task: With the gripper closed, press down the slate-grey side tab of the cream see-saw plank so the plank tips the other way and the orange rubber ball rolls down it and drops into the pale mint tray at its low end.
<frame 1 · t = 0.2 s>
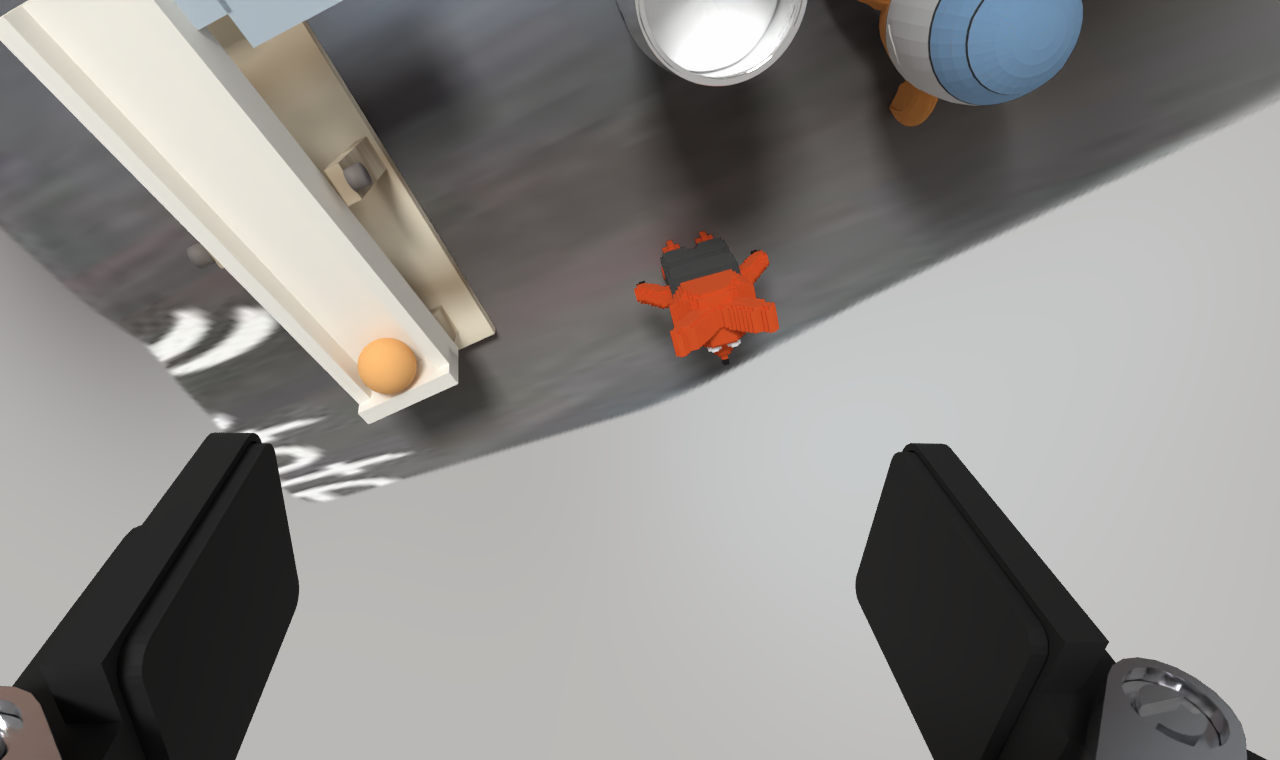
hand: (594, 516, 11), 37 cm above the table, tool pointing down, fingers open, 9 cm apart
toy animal: (692, 268, 49), on the table
stand: (317, 180, 44), on the table
lever: (351, 182, 37), point 7 cm above the table, hinge at 12.3°, touching ball
ball: (387, 365, 42), point 7 cm above the table, tilted 9°, touching lever
toy rocket: (894, 36, 43), on the table
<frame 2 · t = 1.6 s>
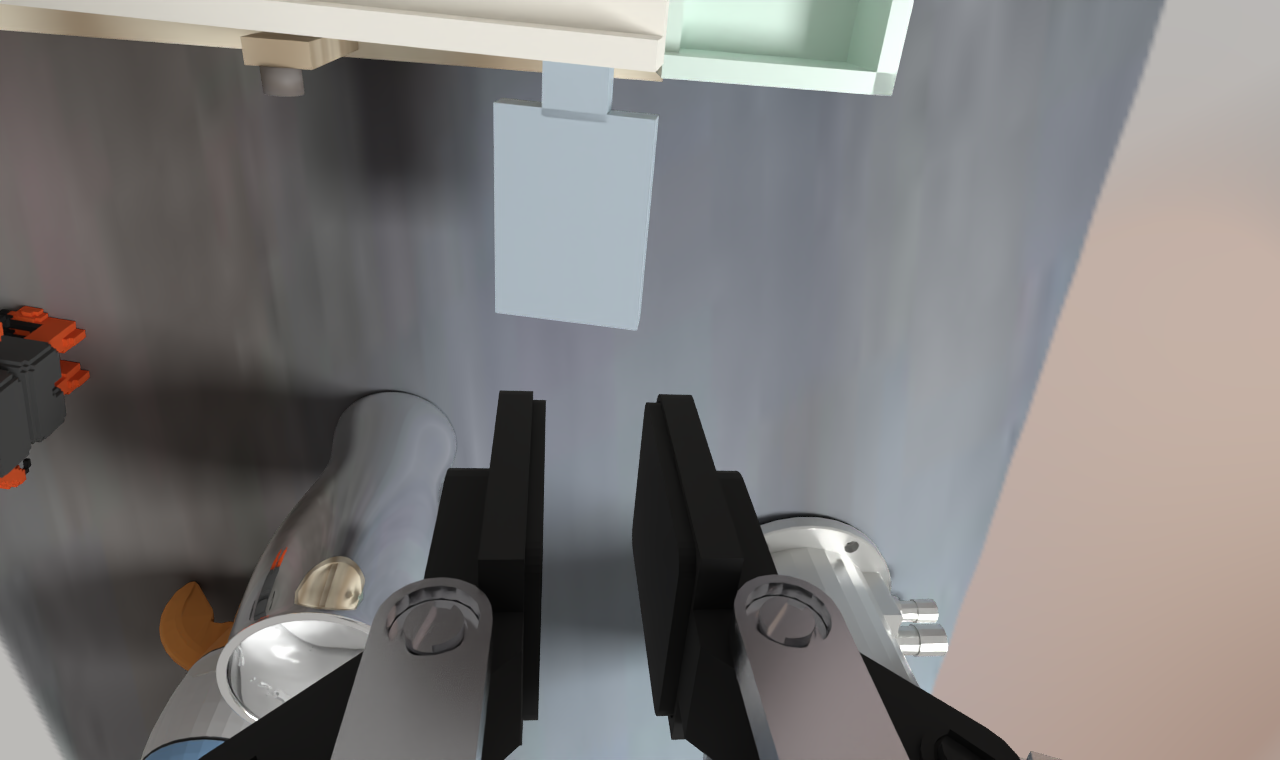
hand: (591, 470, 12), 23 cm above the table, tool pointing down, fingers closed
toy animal: (32, 343, 34), on the table
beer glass: (397, 438, 39), on the table
lever: (275, 69, 23), point 7 cm above the table, hinge at 12.3°, touching ball
toy rocket: (269, 594, 43), on the table
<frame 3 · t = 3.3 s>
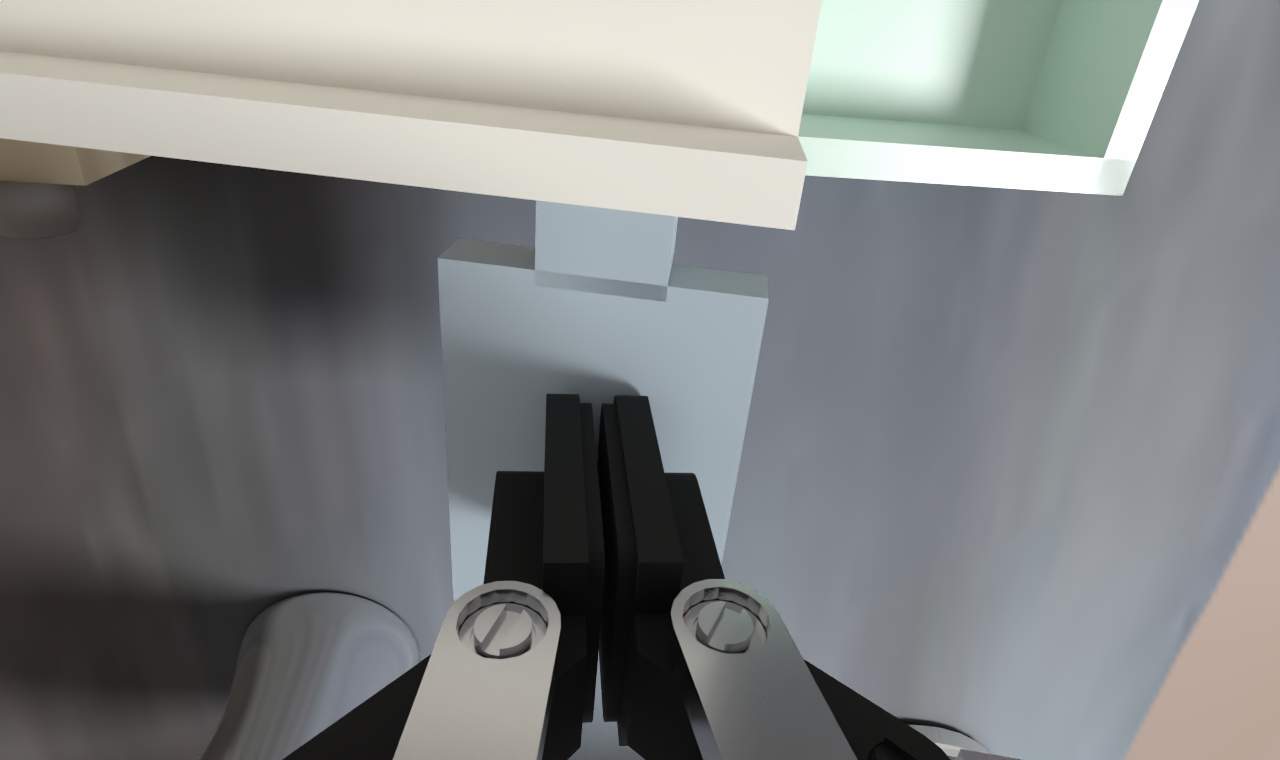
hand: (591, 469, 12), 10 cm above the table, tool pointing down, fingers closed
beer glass: (335, 647, 27), on the table
lever: (9, 186, 12), point 7 cm above the table, hinge at 12.3°, touching ball, gripper
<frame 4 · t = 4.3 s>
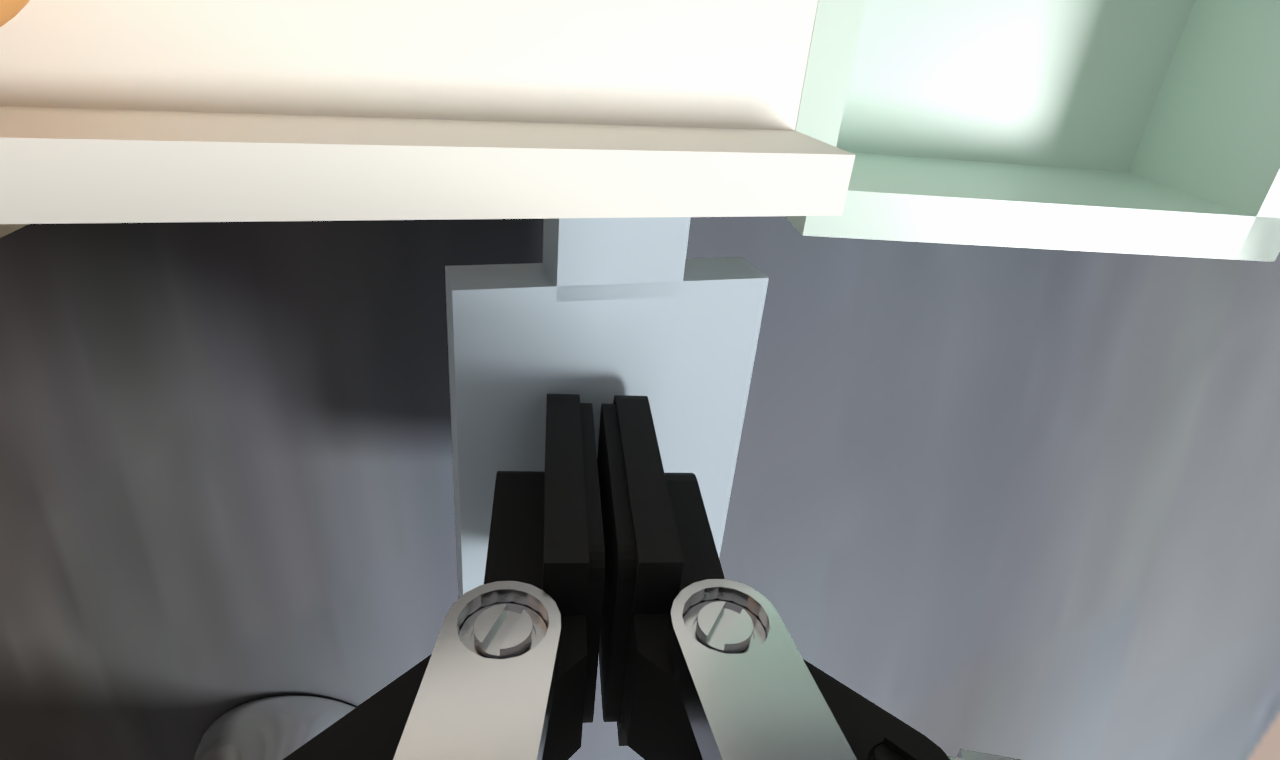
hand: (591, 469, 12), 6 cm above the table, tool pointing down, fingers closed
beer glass: (305, 751, 24), on the table
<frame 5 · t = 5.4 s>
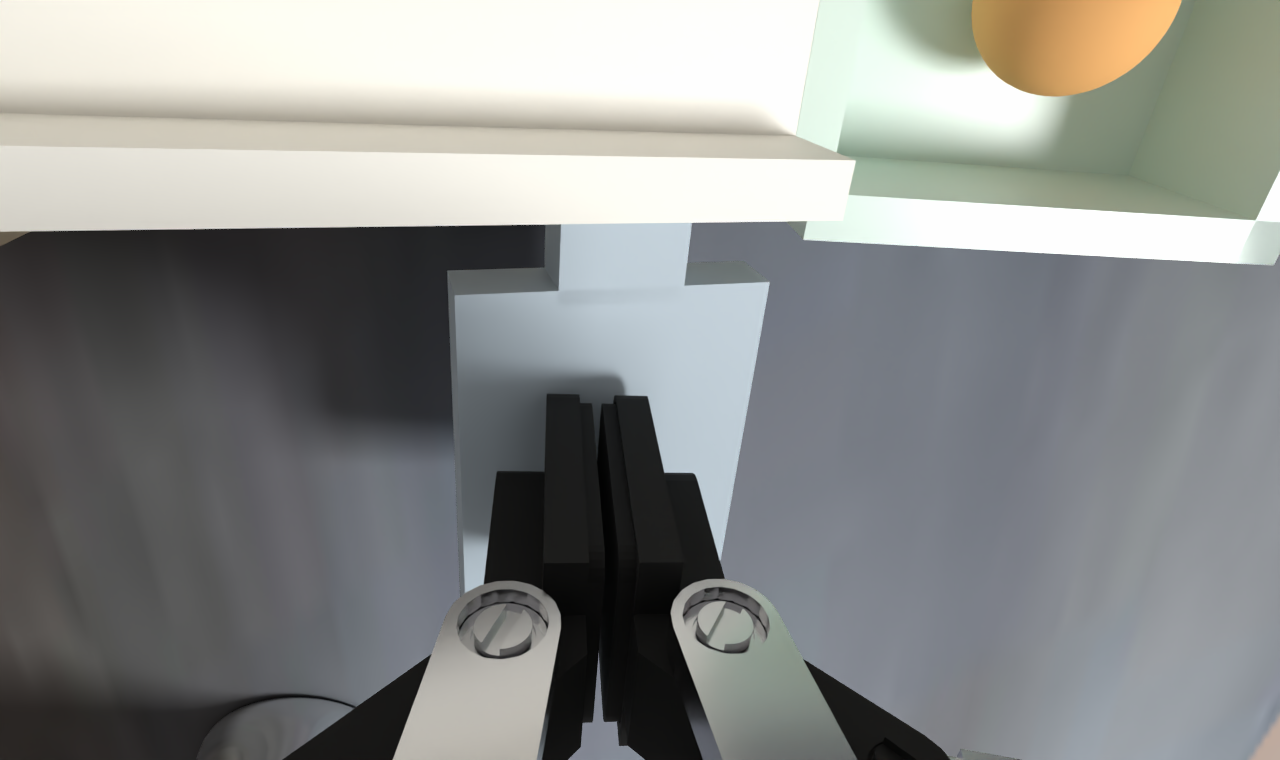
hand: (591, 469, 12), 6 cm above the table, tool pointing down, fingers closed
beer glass: (307, 753, 24), on the table
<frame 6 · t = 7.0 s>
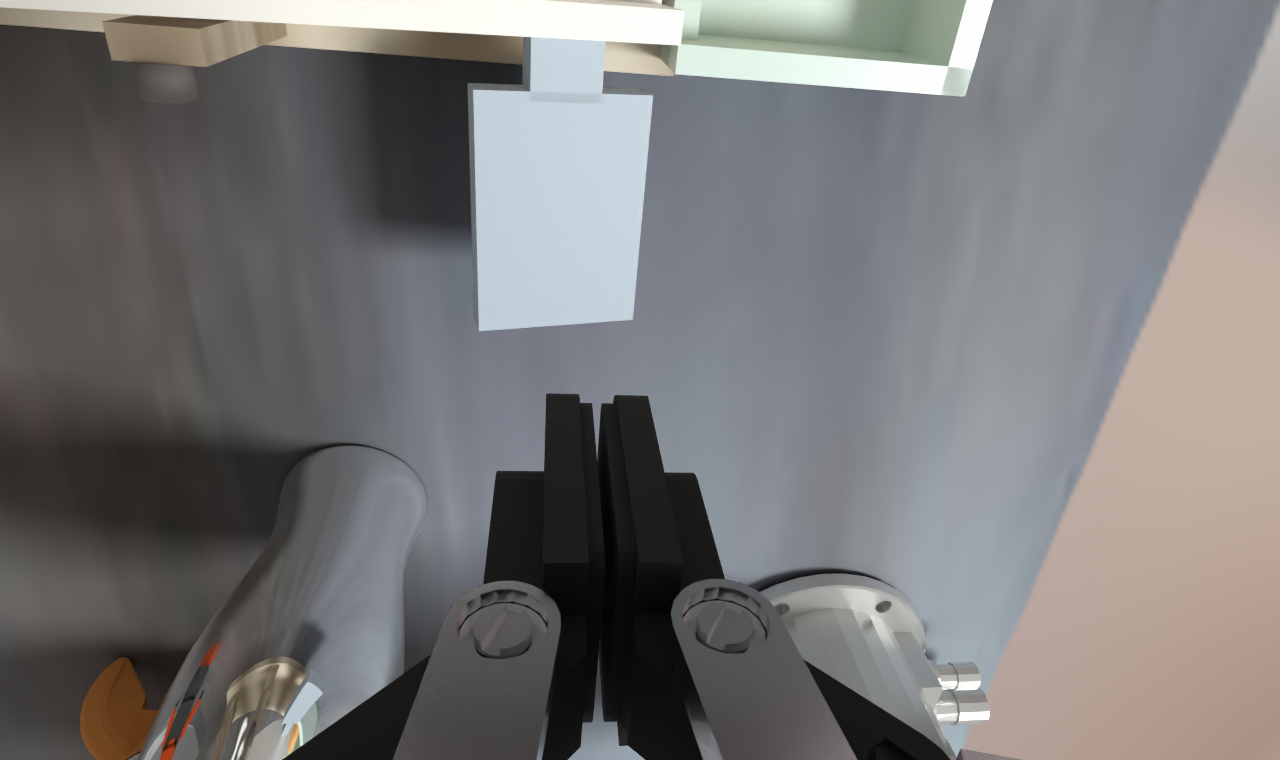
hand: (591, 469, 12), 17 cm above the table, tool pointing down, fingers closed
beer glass: (357, 496, 33), on the table
lever: (161, 66, 17), point 7 cm above the table, hinge at -13.1°, touching stand
toy rocket: (214, 668, 37), on the table
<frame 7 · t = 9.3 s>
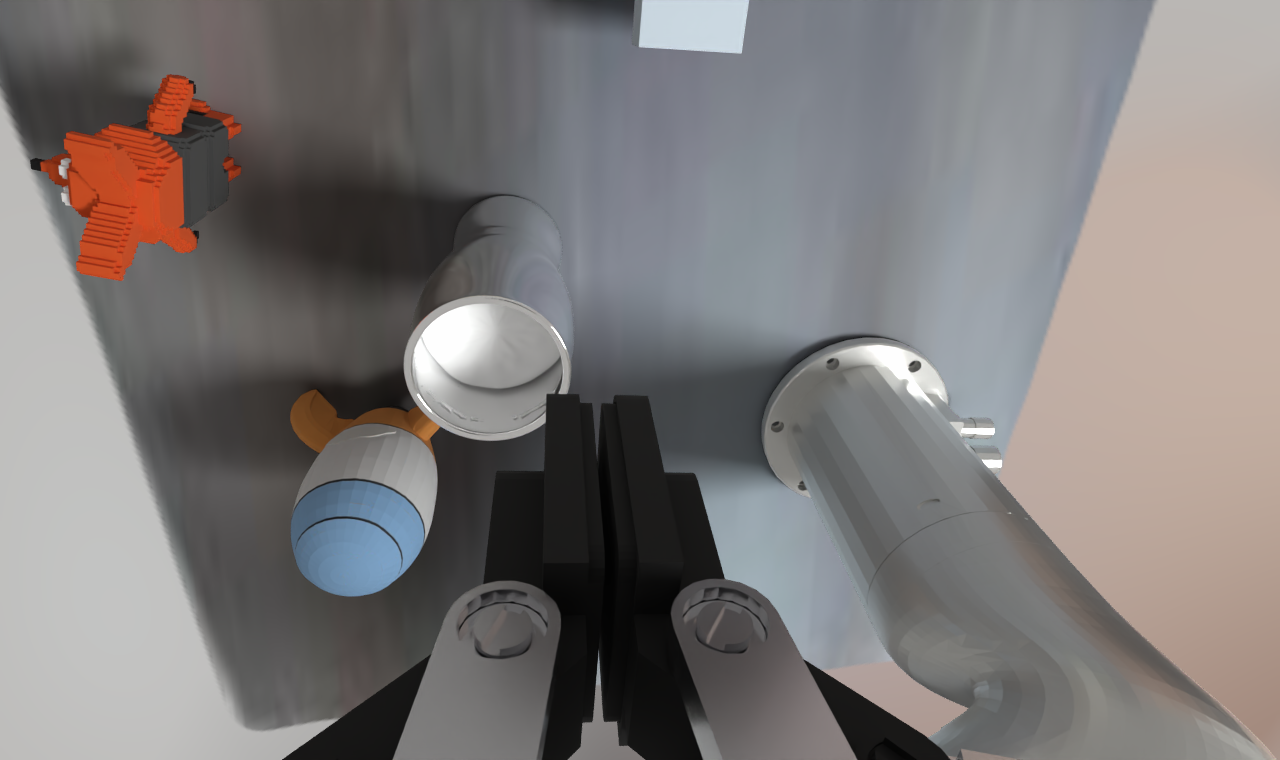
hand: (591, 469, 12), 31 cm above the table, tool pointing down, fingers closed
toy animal: (192, 137, 38), on the table
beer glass: (508, 246, 43), on the table
toy rocket: (380, 407, 47), on the table
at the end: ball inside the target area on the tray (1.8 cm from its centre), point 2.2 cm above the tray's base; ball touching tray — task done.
